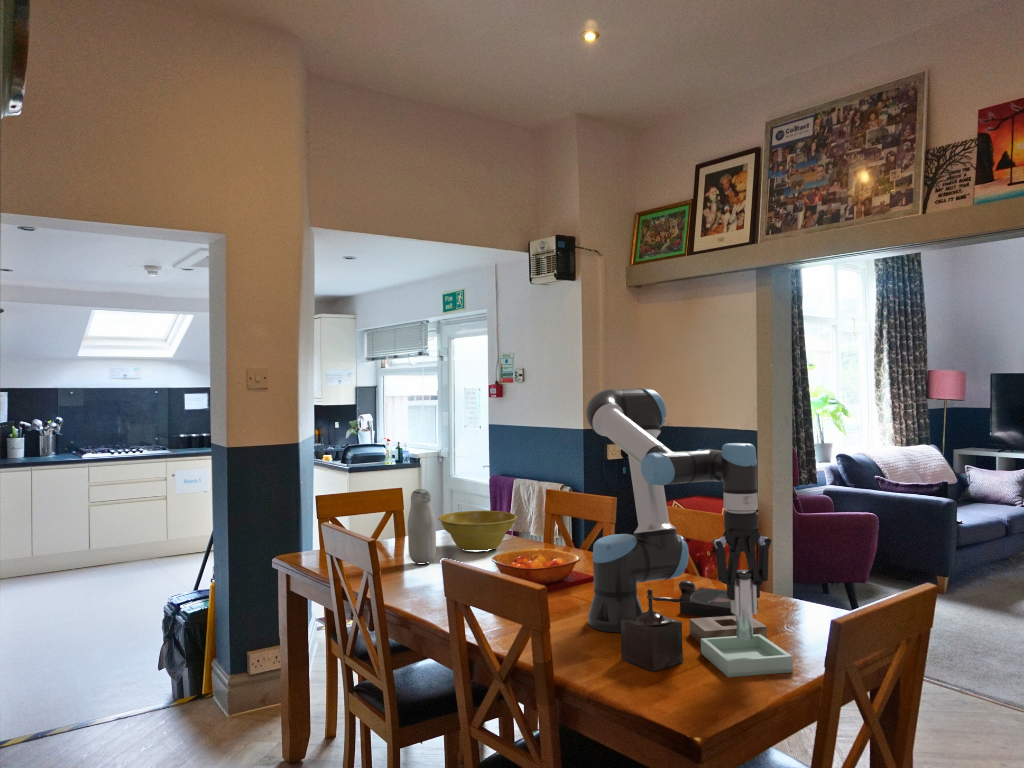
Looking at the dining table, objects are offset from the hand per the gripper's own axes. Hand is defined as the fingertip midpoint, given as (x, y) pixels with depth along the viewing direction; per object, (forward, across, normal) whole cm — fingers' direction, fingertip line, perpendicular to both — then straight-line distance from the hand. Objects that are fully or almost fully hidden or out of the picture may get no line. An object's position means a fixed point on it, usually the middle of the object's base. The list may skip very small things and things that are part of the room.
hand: (744, 612), depth 167 cm
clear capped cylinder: (+6, 0, 0) cm, 6 cm away
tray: (+11, 0, 0) cm, 11 cm away
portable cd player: (+12, +11, +39) cm, 42 cm away
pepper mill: (+11, -18, +6) cm, 22 cm away
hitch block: (+11, +3, +16) cm, 20 cm away
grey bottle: (+11, -72, +117) cm, 138 cm away
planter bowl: (+11, -49, +138) cm, 147 cm away
